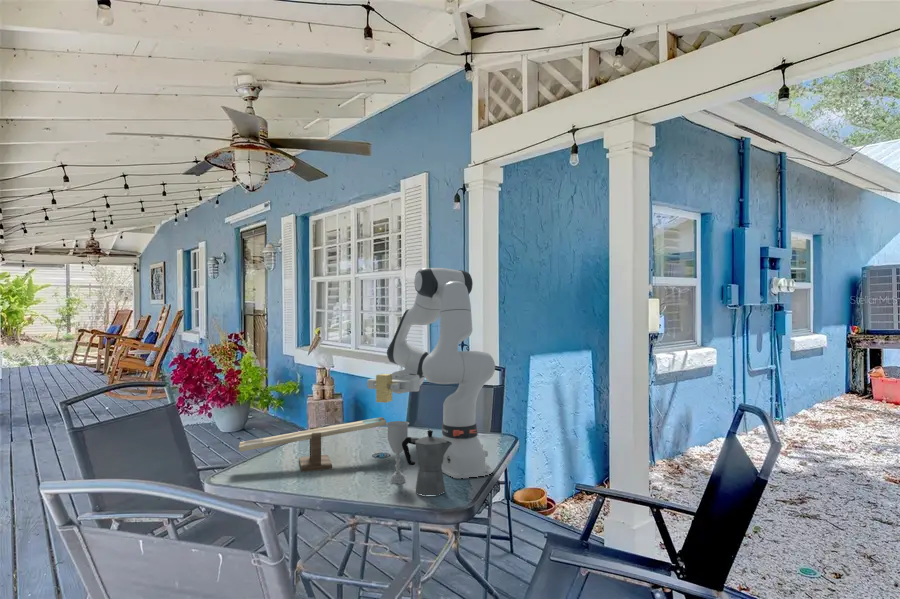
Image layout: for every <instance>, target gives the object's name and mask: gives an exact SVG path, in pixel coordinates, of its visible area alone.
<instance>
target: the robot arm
mask: <svg viewBox="0 0 900 599" xmlns="http://www.w3.org/2000/svg"><path fill="white" fill-rule="evenodd" d="M414 277H415V278H414V283H413V284H414V288H415V291H416V295H415V300H414V303H413V305H412V307H408V308H406V310H405V311H404V312H403V315H402V316H401V318H400V321H399V323H398V326H397V328H396V330H395V333H394V335H393V338H392V340H391V342H390V344H389V346H388V348H387V350H386V355H387V359H388V361H389V363H392V364H394V365H397V366H399V367H401V368H404V369H402V370H398V371H395V372H392V373H391V374H392V384H389V385H388V389H391V390H392V393H394V394H398V395H401V394H405V393H412V392H413V393H414V392H415V393H416V392H419V391H420V389H421V388H420V387H421V386H422V385H423V383H424V382H425V380H426V381H427V382H429V383H430V384H431V383H432V384H437V385H438V384H439V385H450V384H451V385H452V384H453V385H454V384H458V386H457V389H456V390H455V391H454V392H452V393H451V394H449V395H448V396H447V397H446V398H445V400H444V402H443V404H442V406H443V407H442V408H443V409H442V412H443V414H442V416H443V417H442V419H443V420H442V423H441V434H442V436H441V438H443V439H444V440H446V441H449V442H451V443H452V445H450V446H449V447H448V449H447V451H446V452H445V454H444V457H443V463H442V473H443V474H445V475H447V476H449V477H450V476H451V478H452V477H453V479H461V478H463V479H470V478H469V477H477V478H479V477H478V476H484V477H486V476H485V475H488V476H490V475H489V474H491V473H492V472H493V473H494V470H493V469H492V467H491V466H490V464H488V463H489V462H488V461H486V458H487V457H488V456H489V452H488V449H484V444H483V443H481V442H480V439H479V437H478V435H479V433H478V427H477V423H476V407H477V401H478V400H477V399H478V397H479V394H480V392H481V390H482V388H483V387H484V385H485V384H486V383H487V382H488V381H490V380H491V379H492V377H493V375H494V373H495V370H496V364H495V360H494V358H493V356H492V355H491V354H490V353H488V352H484V351H478V350H463V351H459V350H458V348H459V344H460V343H462V342H464V341H465V340H468V338H470V336H471V334H472V333H473V320H472V319H473V318H472V306H471V299H470V294H471V292H472V289H473V283H474V282H473V279H472V275H471V274H470V273H469V272H468V271H466V270H463V269H462V270H461V269H452V268H446V267H423V268H420V269H418V270H417V272H416V273H415V276H414ZM438 319H440V320H438ZM436 321H439V322H440V325H439V326H440V328H439V329H440V330H439V337H438V341H437V343H436V345H435V347H434V348H433V349H432V351H430V352H427V351H425V350H424V349H421V348H419V347H416V346H415V345H412V344H410V343H409V342H408V341H406V339H407V336H408V335H409V331H410V329H411V327H412V326H413V325H415V326H418V325H419V326H428V325H432V324H434V323H435V322H436ZM366 386H367V388H368V389H369V390H376V377H374V378H373V377H372V378H369V379H367V381H366ZM491 475H492V474H491Z"/></svg>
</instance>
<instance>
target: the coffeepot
mask: <svg viewBox="0 0 900 599" xmlns="http://www.w3.org/2000/svg"><path fill="white" fill-rule="evenodd" d="M408 444H411V445H415V450H416V456H417V462H418V471H417V476H416V483H415V489H416V490H415V494H416V493H418V494H422V495H439V494H441V493H443V492H445V493H446V487H445V481H444V473H443V472H442V463H443V457H444V454H445V452H446V451H447V449H448V447H449V446H450V445H452V443H451V442H449V441H446V440H444V439H443V438H442V437H437V436H434V435H433V430H429V429H428V430H427V436H424V437H414V436H413V437H411V436H408V437H406V439H405V440H404V441H403V442H402V447H403V452H404V456H405V459H406V462H407V464H408V465H409V466H415V464H416V462H414V461H412V456H411V454H410V450H409V446H408ZM418 494H417V495H418Z"/></svg>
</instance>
